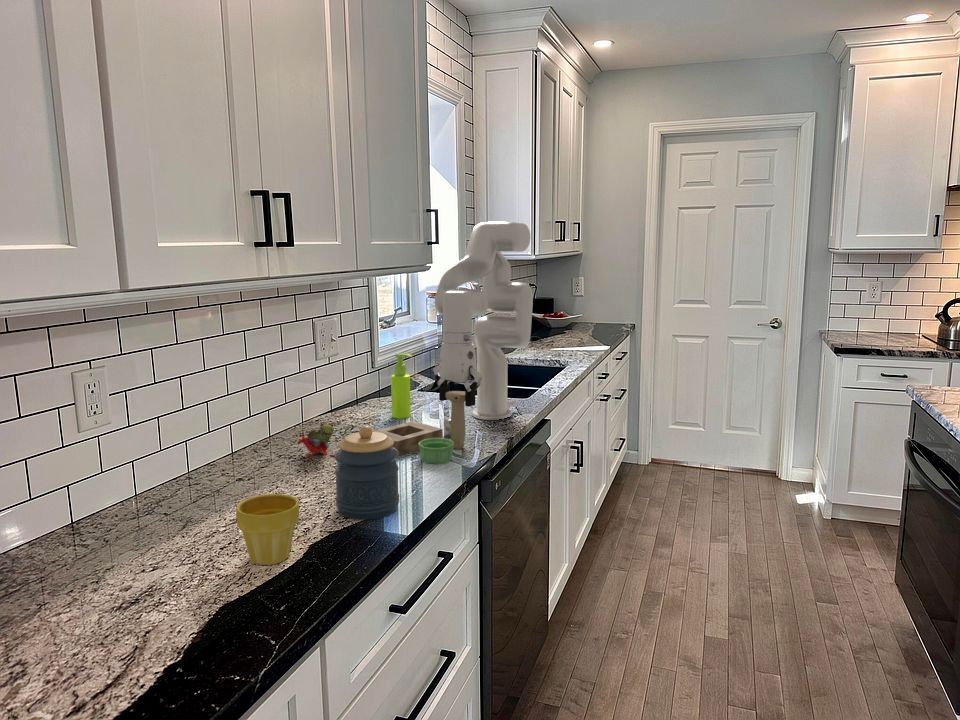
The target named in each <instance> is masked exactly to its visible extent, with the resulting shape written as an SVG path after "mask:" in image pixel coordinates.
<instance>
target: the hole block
mask: <svg viewBox="0 0 960 720" xmlns="http://www.w3.org/2000/svg"><path fill="white" fill-rule="evenodd" d="M372 432H380V433H383V434H385V435H387V436H388V437H390V438H392V439H393V440H394V444H393V446H392V447H394V448H395V449H397V450H398V456H397V457H400V455H401V456H403V455H407V454H410V453H415V452H417V451H420V448H419V445H418V444H419V442H420V441H422V440H424V439H429V438H444V428H440V427H436V426H433V425H429V424H426V423H422V422H419V421H415V420H411V421H408V422H404V423H401V424H397V425H392V426H388V427H385V428H380V429H376V430H372Z"/></svg>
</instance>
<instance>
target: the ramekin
mask: <svg viewBox="0 0 960 720" xmlns="http://www.w3.org/2000/svg"><path fill="white" fill-rule="evenodd" d="M418 445H419V448H420V450H419V457H420V458H419V459H420V460H421V461H422V462H423V463H426V464H431V465H440V464H445V463H448V462H451V461H452V459H453V451H454V448H453V446H454V442H453V441H452V440H451V439H449V438H444V437H443V438H429V439H424V440H422V441H420V442H419V444H418Z"/></svg>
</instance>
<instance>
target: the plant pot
mask: <svg viewBox="0 0 960 720" xmlns="http://www.w3.org/2000/svg"><path fill="white" fill-rule="evenodd" d="M235 510H236V511H235V513H236V514H235V515H236V526H237V528H238V529H239V530H240V531H241V533H242V536H243V539H244V542H245V546H246V550H247V552H248V556H249V560H250V561H251V562H252V563H253V564H256V565H261V566H270V565H275V564H280V563H283V562H284V561H286V560H287V559H288V558H289V556H290V555H291V549H292V543H293V538H294V532H295V526H296V524H298V522H299V520H300V502H299V500H298V499H297V497H294V496H292V495H289V494H282V493H270V494H269V493H268V494H262V495H261V494H260V495H257V496H252V497H249V498H246V499H244V500H242V501H241V502H239V503H238V504H237V505H236V508H235Z"/></svg>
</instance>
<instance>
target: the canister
mask: <svg viewBox="0 0 960 720" xmlns="http://www.w3.org/2000/svg"><path fill="white" fill-rule="evenodd" d="M372 431H373V430H372V428H371V426H369V425H363V426H361V428H359V432H354V433H350V434H348V435H346V436H345V437H344V438H343V439H341V440H340V441H338V443H337V447H338V448H339V449H338V450H337V451H336V452H335V453H334V454H333V455H334V457H333V459H334V460H335V461H336V468H335V469H334V474H335V490H336V497H335V505H336V509H337V513H338V514H339V515H341V516H342V517H345V518H348V519H353V520H361V521H362V520H363V521H367V520H376V519H380V518H384V517H387V516H389V515H392V514H394V513H395V512H396V511H398V508H399V503H400V493H399V469H400V468H399V465H398V464H397V457H399V456H398V450H397V449H395V448H394V447H392V446H393V444H394V440H393V439H392V438H390V437H388V436H387V435H385V434H383V433H380V432H372Z"/></svg>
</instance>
